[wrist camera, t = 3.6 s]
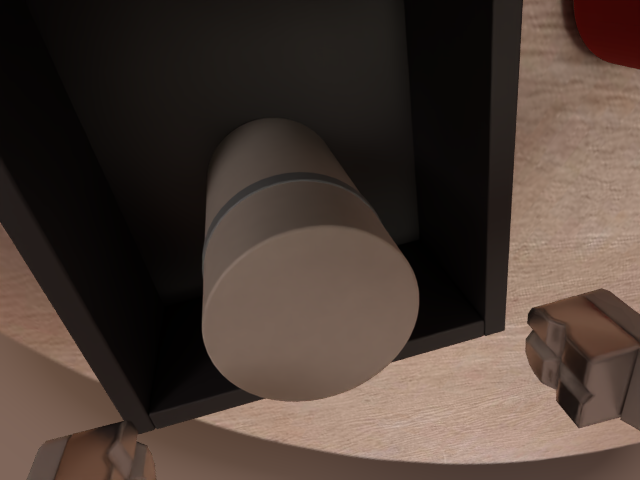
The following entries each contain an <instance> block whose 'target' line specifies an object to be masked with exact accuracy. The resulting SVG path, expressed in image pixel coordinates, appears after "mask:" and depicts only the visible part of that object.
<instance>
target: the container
mask: <svg viewBox="0 0 640 480" xmlns="http://www.w3.org/2000/svg"><path fill="white" fill-rule="evenodd" d="M202 274H203V306H202V335H203V341H204V345H205V347H206V350H207V353H208V355H209V357H210V359H211V360H212V362H213V364H214V365H215V366H216V368H217V369H218V370H219V372H220V373H221V374H222V375H223V376H224V377H225V378H227V379H228V380H229V381H230V382H231V383H233V384H234V385H236V386H237V387H239V388H241V389H243V390H245V391H247V392H249V393H251V394H254V395H257V396H259V397H263V398H267V399H271V400H279V401H293V402H298V401H311V400H317V399H323V398H327V397H331V396H335V395H337V394H340V393H343V392H346V391H348V390H351V389H353V388H355V387H357V386H359V385H361V384H363V383H364V382H366V381H368V380H369V379H371V378H372V377H374V376H375V375H377V374H378V373H379V372H381V371H382V370H383V369H384V368H385V367H386V366H388V365H389V364H390V363H391V362H392V361H393V360H394V359H395V357H396V356H397V355H398V354H399V353H400V351H401V350H402V349H403V347H404V346H405V344H406V343H407V341H408V339H409V338H410V336H411V333H412V331H413V329H414V327H415V323H416V320H417V316H418V310H419V289H418V284H417V280H416V277H415V274H414V271H413V270H412V268H411V266H410V264H409V262H408V261H407V259H406V258H405V256H404V255H403V254H402V252H401V251H400V249H399V248H398V246H397V245H396V244H395V242H394V241H393V239H392V238H391V236H390V235H389V234H388V232H387V231H386V229H385V228H384V226H383V225H382V222H381V220H380V219H379V217H378V215H377V213H376V212H375V210H374V209H373V208H372V206H371V205H370V204H369V202H368V201H367V200H366V199H365V198H364V197H363V196H362V195H361V194H360V192H359V191H358V189H357V188H356V186H355V185H354V184H353V182H352V181H351V179H350V178H349V176H348V175H347V174H346V172H345V171H344V169H343V168H342V166H341V165H340V164H339V162H338V161H337V159H336V158H335V156H334V155H333V154H332V152H331V151H330V149H329V148H328V146H327V145H326V144H325V142H324V141H323V140H322V139H321V138H320V137H319V136H318V135H317V134H316V133H315V132H314V131H313V130H311V129H310V128H308V127H306V126H305V125H303V124H301V123H298V122H295V121H293V120H289V119H284V118H263V119H258V120H254V121H251V122H248V123H246V124H244V125H242V126H240V127H238V128H236V129H235V130H233V131H232V132H231V133H230V134H228V135H227V136H226V137H225V138H224V139H223V140H222V141H221V143H220V144H219V145H218V147H217V148H216V150H215V151H214V153H213V155H212V158H211V160H210V163H209V167H208V172H207V192H206V221H205V240H204V246H203V253H202Z"/></svg>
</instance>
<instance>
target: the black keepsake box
mask: <svg viewBox="0 0 640 480" xmlns="http://www.w3.org/2000/svg"><path fill="white" fill-rule="evenodd" d="M522 7H523V0H0V222H1V224H2V225H3V227H4V228H5V230H6V232H7V233H8V235H9V236H10V238H11V240H12V241H13V243H14V244H15V246H16V248H17V249H18V251H19V253H20V254H21V256H22V257H23V259H24V261H25V262H26V264H27V265H28V267H29V269H30V270H31V272H32V273H33V275H34V277H35V278H36V280H37V281H38V283H39V285H40V286H41V288H42V290H43V291H44V293H45V294H46V296H47V298H48V299H49V301H50V302H51V304H52V306H53V307H54V309H55V310H56V312H57V314H58V315H59V317H60V319H61V320H62V322H63V323H64V325H65V327H66V328H67V330H68V331H69V333H70V335H71V336H72V338H73V339H74V341H75V343H76V344H77V346H78V347H79V349H80V351H81V352H82V354H83V356H84V357H85V359H86V360H87V362H88V364H89V365H90V367H91V368H92V370H93V372H94V373H95V375H96V376H97V378H98V380H99V381H100V383H101V385H102V386H103V387H104V389H105V391H106V393H107V394H108V396H109V397H110V399H111V401H112V402H113V404H114V405H115V407H116V409H117V410H118V412H119V413H120V415H121V417H122V418H123V420H124V421H132V423H133V424H134V426H135V427H136V429H137V430H138V434H142V433H145V432H148V431H152V430H154V429H155V428H157V429H159V428H163V427H166V426H170V425H174V424H177V423H180V422H184V421H187V420H191V419H195V418H198V417H202V416H205V415H209V414H212V413H216V412H219V411H223V410H226V409H230V408H233V407H237V406H240V405H244V404H247V403H251V402H254V401H258V400H261V399H265V398H263V397H259V396H257V395H254V394H251V393H249V392H247V391H245V390H243V389H241V388H239V387H237V386H236V385H234V384H233V383H231V382H230V381H229V380H228V379H227V378H225V377H224V376H223V375H222V374H221V373H220V372H219V370H218V369H217V368H216V366H215V365H214V364H213V362H212V360H211V359H210V357H209V355H208V353H207V350H206V347H205V345H204V341H203V335H202V306H203V274H202V253H203V246H204V240H205V221H206V192H207V172H208V167H209V163H210V160H211V158H212V155H213V153H214V151H215V150H216V148H217V147H218V145H219V144H220V143H221V141H222V140H223V139H224V138H225V137H226V136H227V135H228V134H230V133H231V132H232V131H233V130H235V129H236V128H238V127H240V126H242V125H244V124H246V123H248V122H251V121H254V120H258V119H263V118H284V119H289V120H293V121H295V122H298V123H301V124H303V125H305V126H306V127H308V128H310V129H311V130H313V131H314V132H315V133H316V134H317V135H318V136H319V137H320V138H321V139H322V140H323V141H324V142H325V144H326V145H327V146H328V148H329V149H330V151H331V152H332V154H333V155H334V156H335V158H336V159H337V161H338V162H339V164H340V165H341V166H342V168H343V169H344V171H345V172H346V174H347V175H348V176H349V178H350V179H351V181H352V182H353V184H354V185H355V186H356V188H357V189H358V191H359V192H360V194H361V195H362V196H363V197H364V198H365V199H366V200H367V201H368V202H369V204H370V205H371V206H372V208H373V209H374V210H375V212H376V213H377V215H378V217H379V219H380V220H381V222H382V225H383V226H384V228H385V229H386V231H387V232H388V234H389V235H390V236H391V238H392V239H393V241H394V242H395V244H396V245H397V246H398V248H399V249H400V251H401V252H402V254H403V255H404V256H405V258H406V259H407V261H408V262H409V264H410V266H411V268H412V270H413V271H414V274H415V277H416V280H417V284H418V289H419V310H418V316H417V320H416V323H415V327H414V329H413V331H412V333H411V336H410V338H409V339H408V341H407V343H406V344H405V346H404V347H403V349H402V350H401V351H400V353H399V354H398V355H397V356H396V357H395V359H394V360H393V361H392V362H394V361H398V360H401V359H405V358H408V357H412V356H415V355H419V354H422V353H426V352H429V351H433V350H436V349H440V348H443V347H447V346H450V345H454V344H457V343H461V342H465V341H468V340H472V339H475V338H479V337H482V336H483V335H485V336H487V335H490V334H494V333H497V332H501V331H504V330H505V313H506V295H507V277H508V259H509V241H510V223H511V205H512V187H513V169H514V151H515V133H516V115H517V97H518V79H519V61H520V43H521V25H522Z"/></svg>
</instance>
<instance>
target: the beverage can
mask: <svg viewBox="0 0 640 480" xmlns="http://www.w3.org/2000/svg"><path fill="white" fill-rule="evenodd" d="M574 14H575V20H576V25H577V28H578V31H579V34H580V36H581V38H582V40H583V42H584V43H585V45H586V46H587V47H588V49H589V50H590V51H591V52H592V53H594V54H595V55H596V56H597V57H599V58H600V59H602V60H604V61H607V62H609V63H613V64H617V65H622V66H627V67H631V68H636V69H640V0H574Z"/></svg>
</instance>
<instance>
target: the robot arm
mask: <svg viewBox="0 0 640 480" xmlns="http://www.w3.org/2000/svg"><path fill="white" fill-rule="evenodd" d="M527 323H528V325H529V326H530V327H531V328H532V329H533V330H532V332H531V333H530V334H529V336H528V337H527V338H526V347H525V352H526V355H527V359H528V362H529V365H530V366H531V368H532V370H533V372H534V374H535V375H536V376H537V377H538V379H539V380H540V381H541V383H543V384H545V385H547V386H549V387H551V388H553V389H556V401H557V402H558V404H559V405H560V406H561V407H562V408H563V410H564V411H565V412H566V413H567V414H568V416H569V417H570V418H571V419H572V421H573V422H574V423H575V424H576V425H577V427H578V428H582V427H585V426H589V425H593V424H596V423H600V422H604V421H608V420H611V419H615V418H619V417H621V419H620V420H622V421H624V422H626V423H628V424H629V425H631V426H633V427H635V428H636V429H638V430H640V314H638V313H637V312H636V311H634V310H633V309H632V308H631V307H629V306H628V305H627V304H625V303H624V302H623V301H622V300H620V299H619V298H618V297H616V296H615V295H614V294H613V293H611V292H610V291H608V290H605V289H602V288H601V289H598V290H594V291H591V292H587V293H583V294H580V295H578V296H572V297H569V298H565V299H562V300H559V301H555V302H552V303H548V304H545V305H541V306H538V307H534V308H532V309H531V310H530V312H529V313H528V321H527ZM137 436H138V430H137V429H136V427H135V426H134V424H133V423H132V421H122V422H118V423H114V424H110V425H106V426H102V427H98V428H94V429H90V430H86V431H82V432H78V433H74V434H72V435H68V436H64V437H60V438H56V439H52V440H48V441H46V442H45V443H44V444H43V445H42V446H41V447H40V448H39V450H38V452H37V455H36V457H35V460H34V462H33V465H32V467H31V470H30V473H29V475H28V478H27V480H156V469H155V463H154V460H153V456H152V453H151V452H150V450H149V448H148V446H147V445H144V444H141V443H139V442H137Z"/></svg>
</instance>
